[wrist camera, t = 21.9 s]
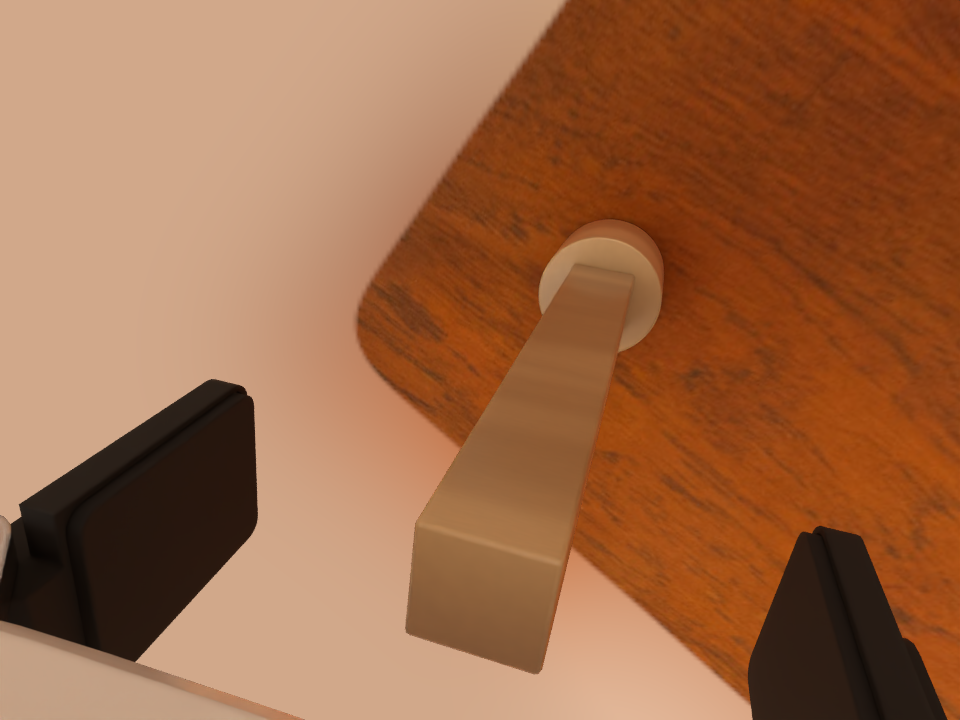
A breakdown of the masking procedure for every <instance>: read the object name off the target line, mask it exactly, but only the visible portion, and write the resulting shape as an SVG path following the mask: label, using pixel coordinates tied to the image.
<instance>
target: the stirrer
mask: <svg viewBox="0 0 960 720" xmlns="http://www.w3.org/2000/svg"><path fill="white" fill-rule="evenodd" d="M663 281H664V264H663V260H662V256H661V253H660V251H659V249H658V247H657V245H656V244H655V242H654V241H653V240H652V238H651V237H650V236H649V235H648V234H647V233H646V232H645V231H643V230H642V229H640V228H639V227H637V226H635V225H633V224H631V223H628V222H625V221H621V220H615V219H604V220H597V221H594V222H590V223H588V224H586V225H583V226H582V227H580V228H578V229H577V230H576V231H574V232H573V233H572V234H571V235H570V236H569V237H568V238H567V239H566V240H565V242H564V243H563V244H562V246H561V247H560V248H559V250H558V251H557V252H556V254H555V255H554V256H553V257H552V259H551V260H550V262H549V263H548V264H547V266H546V268H545V270H544V271H543V274H542V277H541V280H540V284H539V292H538V296H539V306H540V310H541V313H542V317H541V319H540V320H539V322H538V324H537V325H536V327H535V329H534V330H533V332H532V334H531V335H530V337H529V338H528V340H527V342H526V343H525V345H524V347H523V348H522V350H521V352H520V353H519V355H518V356H517V358H516V360H515V361H514V363H513V365H512V366H511V368H510V369H509V371H508V373H507V374H506V376H505V378H504V379H503V381H502V383H501V384H500V386H499V387H498V389H497V391H496V392H495V394H494V396H493V397H492V399H491V400H490V402H489V404H488V405H487V407H486V409H485V410H484V412H483V414H482V415H481V417H480V418H479V420H478V422H477V423H476V425H475V427H474V428H473V430H472V432H471V433H470V435H469V436H468V438H467V440H466V441H465V443H464V445H463V446H462V448H461V449H460V451H459V453H458V454H457V456H456V458H455V459H454V461H453V463H452V464H451V466H450V467H449V469H448V471H447V472H446V474H445V476H444V478H443V479H442V481H441V482H440V484H439V485H438V487H437V489H436V490H435V492H434V494H433V495H432V497H431V498H430V500H429V502H428V503H427V505H426V507H425V509H424V510H423V512H422V513H421V515H420V516H419V518H418V520H417V521H416V523H415V532H414V543H413V553H412V563H411V574H410V586H409V595H408V605H407V615H406V627H405V629H406V633H408V634H409V635H412V636H415V637H418V638H422V639H425V640H428V641H431V642H434V643H437V644H440V645H443V646H447V647H450V648H453V649H456V650H459V651H463V652H466V653H469V654H472V655H475V656H479V657H481V658H484V659H488V660H491V661H494V662H497V663H500V664H503V665H507V666H510V667H513V668H516V669H519V670H523V671H525V672H529V673H532V674H539V672H540V671H541V670H542V667H543V663H544V659H545V655H546V650H547V646H548V642H549V638H550V634H551V630H552V625H553V621H554V617H555V613H556V609H557V605H558V600H559V596H560V592H561V588H562V584H563V580H564V575H565V571H566V567H567V562H568V559H569V555H570V550H571V546H572V542H573V538H574V534H575V530H576V525H577V521H578V517H579V513H580V509H581V505H582V500H583V496H584V492H585V488H586V484H587V480H588V475H589V471H590V467H591V463H592V459H593V454H594V450H595V446H596V442H597V438H598V434H599V429H600V425H601V421H602V417H603V413H604V409H605V404H606V400H607V396H608V392H609V388H610V384H611V379H612V375H613V371H614V367H615V363H616V359H617V354H618V352H621V351H624V350H626V349H628V348H630V347H632V346H634V345H635V344H637V343H638V342H640V341H641V340H642V339H643V338H644V337H645V336H646V335H647V334H648V333H649V332H650V331H651V329H652V327H653V326H654V324H655V322H656V320H657V318H658V316H659V312H660V309H661V303H662V292H663Z"/></svg>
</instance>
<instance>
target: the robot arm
mask: <svg viewBox="0 0 960 720" xmlns="http://www.w3.org/2000/svg"><path fill="white" fill-rule="evenodd" d="M256 481H257V479H256V450H255V422H254V403H253V399H252V398H251V397H250V396H248V395H247V392H246V390H245V388H244V387H242V386H240V385H236V384H232V383H227V382H224V381H219V380H215V379H211V380H208V381H206V382H205V383H203V384H202V385H200V386H198V387H197V388H195V389H194V390H193V391H191V392H189V393H188V394H186V395H185V396H183V397H182V398H180V399H179V400H177V401H176V402H174V403H173V404H171V405H170V406H168V407H167V408H165V409H164V410H162V411H161V412H159V413H158V414H156V415H154V416H153V417H151V418H150V419H148V420H147V421H145V422H144V423H142V424H141V425H139V426H138V427H136V428H135V429H133V430H132V431H130V432H128V433H127V434H125V435H124V436H122V437H121V438H119V439H118V440H116V441H115V442H113V443H112V444H110V445H109V446H107V447H106V448H104V449H103V450H101V451H100V452H98V453H97V454H95V455H93V456H92V457H90V458H89V459H87V460H86V461H85V462H83V463H81V464H80V465H78V466H77V467H75V468H74V469H72V470H71V471H69V472H68V473H66V474H65V475H63V476H62V477H60V478H58V479H57V480H55V481H54V482H52V483H51V484H50V485H48V486H46V487H45V488H43V489H42V490H40V491H39V492H37V493H36V494H34V495H33V496H31V497H30V498H28V499H27V500H25V501H24V502H22V503H21V504H19V506H20V511H21V516H22V517H20V518H19V519H17V520H16V521H14V522H13V523H12V524H10V523H9V522H8V521H7V519H6V518H5V517H4V516H1V515H0V720H304V719H301V718H298V717H295V716H293V715H290V714H287V713H284V712H280V711H278V710H275V709H272V708H269V707H266V706H263V705H260V704H257V703H254V702H251V701H249V700H245V699H243V698H240V697H237V696H233V695H231V694H228V693H225V692H221V691H219V690H216V689H213V688H210V687H207V686H204V685H201V684H198V683H195V682H192V681H189V680H186V679H183V678H180V677H177V676H174V675H171V674H168V673H165V672H162V671H159V670H156V669H153V668H150V667H147V666H144V665H141V664H138V663H135V661H137V659H138V658H139V657H140V656H141V655H142V654H143V653H144V652H145V651H146V650H147V649H148V647H149V646H150V645H151V644H152V643H153V642H154V641H155V640H156V639H157V638H158V637H159V635H160V634H161V633H162V632H163V631H164V630H165V629H166V628H167V627H168V626H169V625H170V623H171V622H172V621H173V620H174V619H175V618H176V617H177V616H178V614H180V613H181V611H182V610H183V609H184V608H185V607H186V606H187V605H188V604H189V603H190V602H191V601H192V599H193V598H194V597H195V596H196V595H197V594H198V593H199V592H200V591H201V590H202V589H203V587H204V586H205V585H206V584H207V583H208V582H209V581H210V580H211V579H212V578H213V577H214V575H215V574H216V573H217V572H218V571H219V570H220V569H221V568H222V567H223V565H225V563H226V562H227V561H228V560H229V559H230V558H231V557H232V556H233V555H234V554H235V553H236V551H237V550H238V549H239V548H240V547H241V546H242V545H243V544H244V543H245V542H246V541H247V539H248V538H249V537H250V536H251V534H252V533H253V531H254V529H255V527H256V524H257V518H258V512H257V511H258V508H257V482H256ZM748 685H749V693H750V701H751V709H752V718H753V720H947V718H946V715H945V713H944V711H943V708H942V706H941V703H940V701H939V699H938V696H937V694H936V692H935V689H934V687H933V684H932V682H931V680H930V677H929V675H928V673H927V670H926V668H925V666H924V663H923V661H922V658H921V656H920V654H919V652H918V650H917V648H916V647H915V645H914V644H913V643H912V642H911V641H909V640H908V639H906V638H902V636H901V633H900V631H899V628H898V626H897V623H896V621H895V618H894V616H893V614H892V611H891V609H890V606H889V604H888V601H887V599H886V596H885V594H884V591H883V589H882V586H881V584H880V581H879V579H878V576H877V574H876V571H875V569H874V566H873V564H872V562H871V559H870V557H869V554H868V552H867V549H866V547H865V544H864V542H863V540H862V538H861V537H860V536H858V535H856V534H851V533H847V532H843V531H839V530H835V529H831V528H827V527H823V526H818V527H816V528H815V530H814V531H813V533H812V534H811V533H807V532H802V533H801V534H800V535H799V537H798V539H797V541H796V544H795V546H794V549H793V551H792V554H791V556H790V559H789V561H788V564H787V566H786V569H785V572H784V574H783V577H782V579H781V582H780V584H779V587H778V589H777V592H776V594H775V597H774V599H773V602H772V604H771V607H770V609H769V612H768V614H767V617H766V619H765V622H764V625H763V627H762V630H761V632H760V635H759V637H758V640H757V642H756V645H755V647H754V650H753V652H752V655H751V658H750V662H749V668H748Z"/></svg>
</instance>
